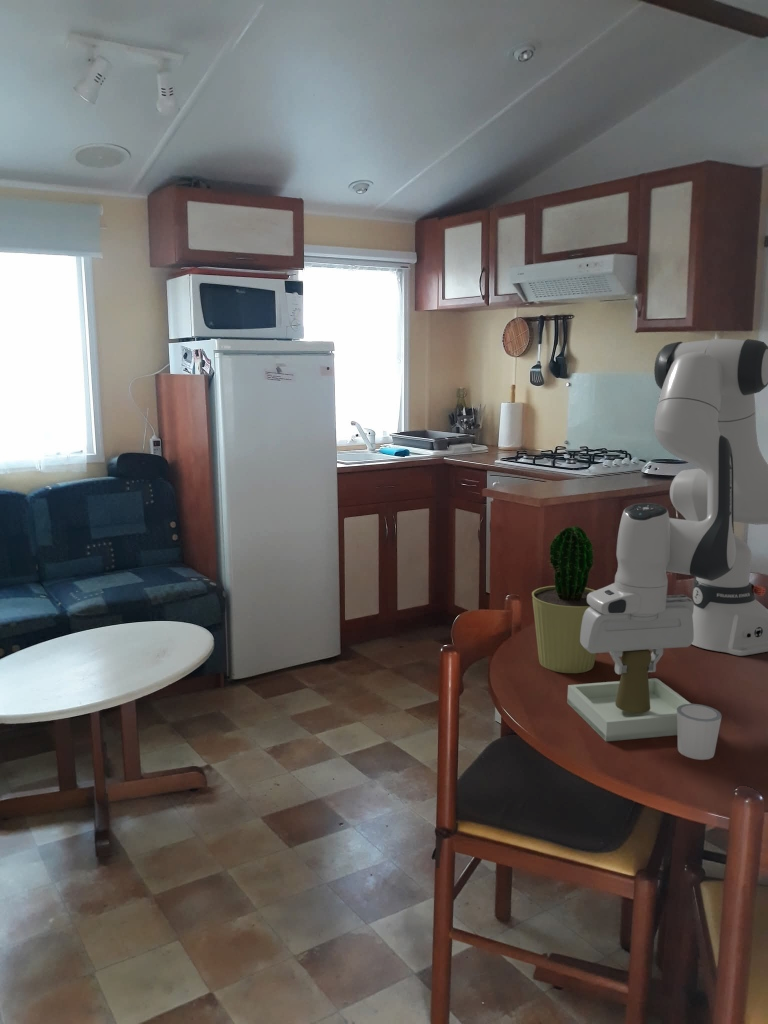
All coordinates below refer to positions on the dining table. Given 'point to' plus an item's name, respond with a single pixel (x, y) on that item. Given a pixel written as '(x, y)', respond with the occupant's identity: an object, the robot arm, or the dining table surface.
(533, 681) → the dining table surface
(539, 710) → the dining table surface
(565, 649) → the potted cactus
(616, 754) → the dining table surface
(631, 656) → the olive brown pawn
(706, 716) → the white cup
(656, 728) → the tray
